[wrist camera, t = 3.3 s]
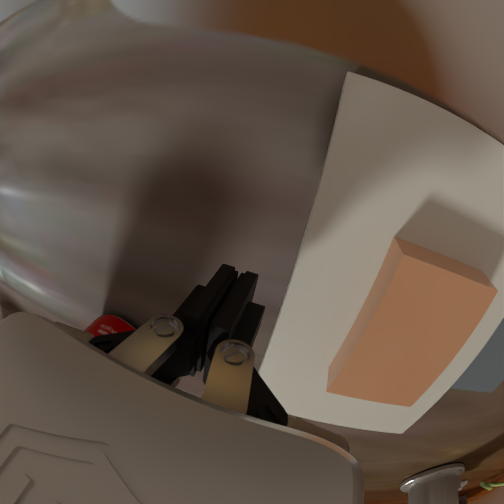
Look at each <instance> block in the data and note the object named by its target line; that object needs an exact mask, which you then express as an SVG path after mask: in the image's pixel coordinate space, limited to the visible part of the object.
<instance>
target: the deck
mask: <svg viewBox="0 0 504 504" xmlns="http://www.w3.org/2000/svg"><path fill="white" fill-rule="evenodd" d="M393 237H396V238H399V239H402V240H404V241H407V242H410V243H413V244H415V245H418V246H421V247H423V248H426V249H428V250H431V251H434V252H436V253H439V254H441V255H444V256H446V257H449V258H451V259H454V260H456V261H459V262H461V263H463V264H466V265H468V266H471V267H473V268H475V269H478V270H480V271H482V272H483V273H484V274H485V275H486V276H487V278H488V279H489V280H490V281H491V282H492V284H493V285H494V286H495V287H496V289H497V290H498V292H497V294H496V296H495V297H494V299H493V301H492V303H491V304H490V306H489V308H488V309H487V311H486V313H485V314H484V316H483V317H482V319H481V321H480V322H479V324H478V325H477V327H476V328H475V330H474V331H473V333H472V334H471V336H470V337H469V338H468V340H467V341H466V343H465V344H464V345H463V347H462V348H461V349H460V351H459V352H458V353H457V355H456V356H455V357H454V359H453V360H452V361H451V362H450V364H449V365H448V366H447V367H446V369H445V370H444V371H443V372H442V373H441V375H440V376H439V377H438V378H437V379H436V380H435V382H434V383H433V384H432V385H431V386H430V387H429V388H428V389H427V390H426V392H425V393H424V394H423V395H422V396H421V397H420V398H419V399H418V400H417V401H416V402H415V403H414V404H413V405H412V406H411V407H406V406H399V405H392V404H385V403H379V402H373V401H368V400H362V399H357V398H352V397H347V396H343V395H338V394H333V393H329V392H326V388H327V378H328V367H329V366H330V364H331V362H332V361H333V359H334V357H335V356H336V354H337V352H338V350H339V349H340V347H341V345H342V343H343V342H344V340H345V338H346V336H347V334H348V333H349V331H350V329H351V327H352V325H353V323H354V321H355V320H356V318H357V316H358V314H359V312H360V310H361V308H362V306H363V304H364V302H365V300H366V298H367V296H368V294H369V292H370V290H371V287H372V285H373V283H374V281H375V279H376V277H377V275H378V272H379V270H380V268H381V266H382V263H383V261H384V259H385V256H386V254H387V252H388V249H389V247H390V244H391V242H392V239H393ZM503 318H504V145H503V144H501V143H500V142H498V141H497V140H495V139H494V138H492V137H491V136H489V135H488V134H486V133H485V132H483V131H482V130H480V129H478V128H477V127H475V126H473V125H472V124H470V123H468V122H467V121H465V120H463V119H461V118H460V117H458V116H456V115H454V114H452V113H450V112H448V111H447V110H445V109H443V108H441V107H439V106H437V105H435V104H432V103H430V102H428V101H426V100H424V99H422V98H420V97H417V96H415V95H413V94H410V93H408V92H406V91H403V90H401V89H398V88H396V87H393V86H390V85H388V84H385V83H382V82H379V81H377V80H374V79H371V78H368V77H365V76H361V75H358V74H355V73H352V72H348V71H347V75H346V78H345V81H344V84H343V88H342V92H341V97H340V101H339V105H338V110H337V114H336V118H335V122H334V126H333V131H332V135H331V139H330V143H329V147H328V151H327V154H326V158H325V162H324V166H323V170H322V173H321V177H320V181H319V184H318V188H317V192H316V195H315V199H314V202H313V206H312V209H311V213H310V216H309V220H308V223H307V227H306V230H305V233H304V237H303V240H302V243H301V247H300V250H299V253H298V256H297V260H296V263H295V266H294V269H293V272H292V275H291V279H290V282H289V285H288V288H287V291H286V294H285V297H284V300H283V303H282V306H281V309H280V312H279V315H278V318H277V321H276V324H275V327H274V330H273V332H272V335H271V338H270V341H269V344H268V347H267V349H266V352H265V355H264V358H263V360H262V363H261V366H260V369H259V372H258V373H259V375H260V376H261V378H262V379H263V380H264V382H265V383H266V385H267V386H268V387H269V389H270V390H271V391H272V393H273V394H274V396H275V397H276V398H277V400H278V401H279V402H280V404H281V405H282V406H283V408H284V409H285V411H286V413H287V414H290V415H294V416H298V417H302V418H306V419H311V420H315V421H320V422H324V423H329V424H335V425H340V426H346V427H352V428H358V429H365V430H372V431H380V432H389V433H400V434H402V433H403V432H404V431H405V430H406V429H408V428H409V427H410V426H411V425H412V424H413V423H415V422H416V421H417V420H418V419H419V418H420V417H421V416H422V415H423V414H424V413H425V412H426V411H428V410H429V409H430V408H431V407H432V406H433V405H434V404H435V403H436V402H437V401H438V400H439V399H440V398H441V397H442V396H443V395H444V393H445V392H446V391H447V390H448V389H449V388H450V387H451V386H452V385H453V384H454V383H455V382H456V380H457V379H458V378H459V377H460V376H461V375H462V373H463V372H464V371H465V370H466V369H467V368H468V366H469V365H470V364H471V363H472V361H473V360H474V359H475V358H476V356H477V355H478V354H479V352H480V351H481V350H482V348H483V347H484V346H485V344H486V343H487V341H488V340H489V339H490V337H491V336H492V334H493V333H494V331H495V330H496V328H497V327H498V325H499V324H500V322H501V321H502V319H503Z"/></svg>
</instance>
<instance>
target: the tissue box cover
mask: <svg viewBox="0 0 504 504" xmlns="http://www.w3.org/2000/svg"><path fill="white" fill-rule="evenodd" d="M458 498H459V504H467V495H464V496H460V497H458Z"/></svg>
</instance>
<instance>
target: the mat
mask: <svg viewBox="0 0 504 504" xmlns="http://www.w3.org/2000/svg"><path fill="white" fill-rule="evenodd" d="M503 380H504V318H503V319H502V321H501V322H500V324H499V325H498V327H497V328H496V330H495V331H494V333H493V334H492V336H491V337H490V339H489V340H488V341H487V343H486V344H485V346H484V347H483V348H482V350H481V351H480V352H479V354H478V355H477V356H476V358H475V359H474V360H473V361H472V363H471V364H470V365H469V366H468V368H467V369H466V370H465V371H464V372H463V373H462V375H461V376H460V377H459V378H458V379H457V380H456V382H455V383H454V384H453V385H452V386H451V387H450V388H451V389H459V390H468V391H479V392H493V391H494V390H495V389H496V388H497V386H498V385H499V384H500V383H501V382H502V381H503Z"/></svg>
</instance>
